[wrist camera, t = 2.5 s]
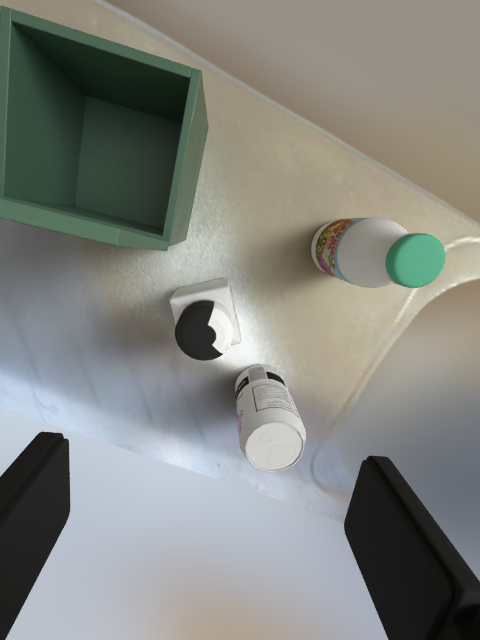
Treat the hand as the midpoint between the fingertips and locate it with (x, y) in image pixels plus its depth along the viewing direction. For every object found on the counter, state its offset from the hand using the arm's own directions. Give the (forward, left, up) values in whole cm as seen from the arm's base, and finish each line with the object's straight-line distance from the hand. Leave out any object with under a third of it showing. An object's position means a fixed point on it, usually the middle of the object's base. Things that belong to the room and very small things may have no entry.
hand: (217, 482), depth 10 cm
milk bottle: (+15, +9, -38) cm, 41 cm away
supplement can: (+10, -15, -38) cm, 42 cm away
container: (-1, -4, -38) cm, 38 cm away
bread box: (-14, +12, -37) cm, 42 cm away
